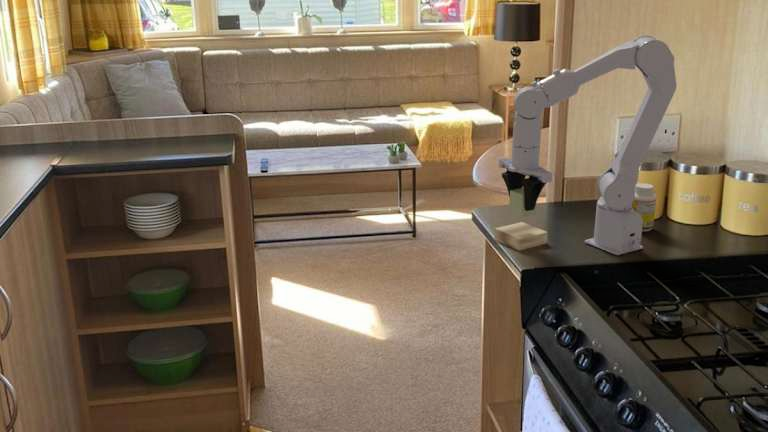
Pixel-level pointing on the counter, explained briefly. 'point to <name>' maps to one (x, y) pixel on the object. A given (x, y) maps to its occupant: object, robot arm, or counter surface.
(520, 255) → the counter surface
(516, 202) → the sage block
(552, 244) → the counter surface
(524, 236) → the birch base
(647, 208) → the supplement bottle
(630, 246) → the robot arm
